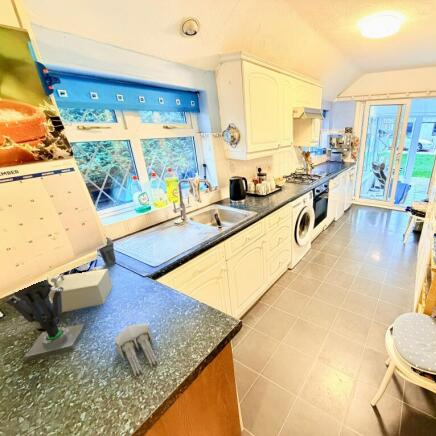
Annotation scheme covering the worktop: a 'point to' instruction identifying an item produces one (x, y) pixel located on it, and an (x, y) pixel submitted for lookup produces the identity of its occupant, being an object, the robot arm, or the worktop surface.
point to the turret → (135, 345)
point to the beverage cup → (108, 253)
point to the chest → (86, 296)
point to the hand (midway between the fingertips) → (54, 333)
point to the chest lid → (79, 280)
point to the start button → (55, 336)
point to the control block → (56, 343)
